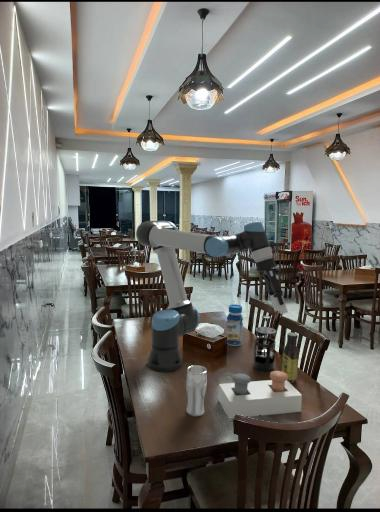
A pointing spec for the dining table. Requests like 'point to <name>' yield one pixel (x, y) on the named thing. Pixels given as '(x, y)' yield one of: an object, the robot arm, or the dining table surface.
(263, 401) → the block
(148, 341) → the dining table surface
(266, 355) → the french press
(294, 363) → the sauce bottle
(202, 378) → the beer glass
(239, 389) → the grey plug
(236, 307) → the beverage bottle
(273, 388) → the terracotta plug
